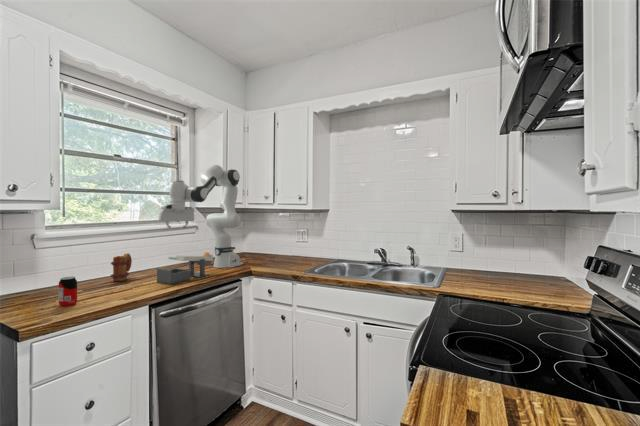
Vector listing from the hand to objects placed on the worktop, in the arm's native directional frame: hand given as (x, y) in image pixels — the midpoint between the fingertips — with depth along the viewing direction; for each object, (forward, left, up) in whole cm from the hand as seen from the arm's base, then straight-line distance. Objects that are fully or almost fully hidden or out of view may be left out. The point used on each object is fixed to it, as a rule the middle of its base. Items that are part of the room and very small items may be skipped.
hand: (177, 228), depth 194 cm
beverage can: (+60, +8, -30) cm, 67 cm away
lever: (-6, +5, -23) cm, 24 cm away
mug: (+21, -22, -30) cm, 43 cm away
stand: (-7, +9, -30) cm, 32 cm away
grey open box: (+9, +9, -30) cm, 32 cm away
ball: (-15, +9, -18) cm, 25 cm away
